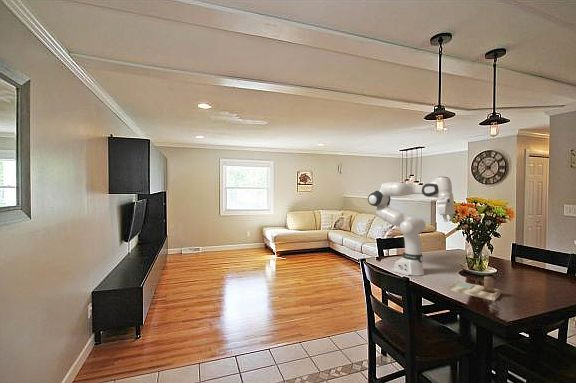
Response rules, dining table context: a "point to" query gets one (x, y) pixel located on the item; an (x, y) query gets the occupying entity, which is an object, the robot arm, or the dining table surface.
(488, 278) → the wooden cylinder
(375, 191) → the robot arm
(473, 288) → the puzzle board
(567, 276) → the dining table surface
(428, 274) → the dining table surface
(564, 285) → the dining table surface
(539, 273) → the dining table surface
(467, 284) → the felt pad
